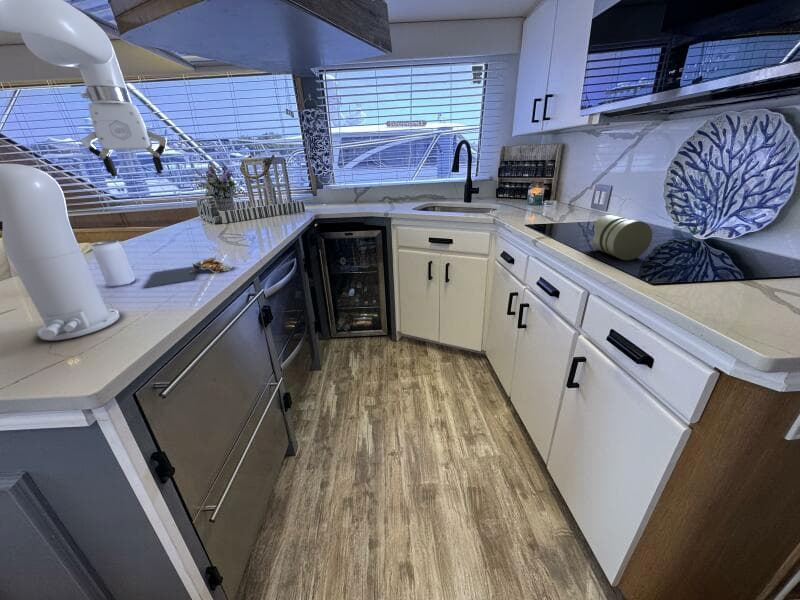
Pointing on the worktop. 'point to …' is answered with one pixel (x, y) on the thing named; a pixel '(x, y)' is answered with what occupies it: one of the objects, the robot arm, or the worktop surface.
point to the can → (113, 263)
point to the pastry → (211, 265)
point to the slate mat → (171, 277)
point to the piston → (621, 237)
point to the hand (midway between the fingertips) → (138, 174)
